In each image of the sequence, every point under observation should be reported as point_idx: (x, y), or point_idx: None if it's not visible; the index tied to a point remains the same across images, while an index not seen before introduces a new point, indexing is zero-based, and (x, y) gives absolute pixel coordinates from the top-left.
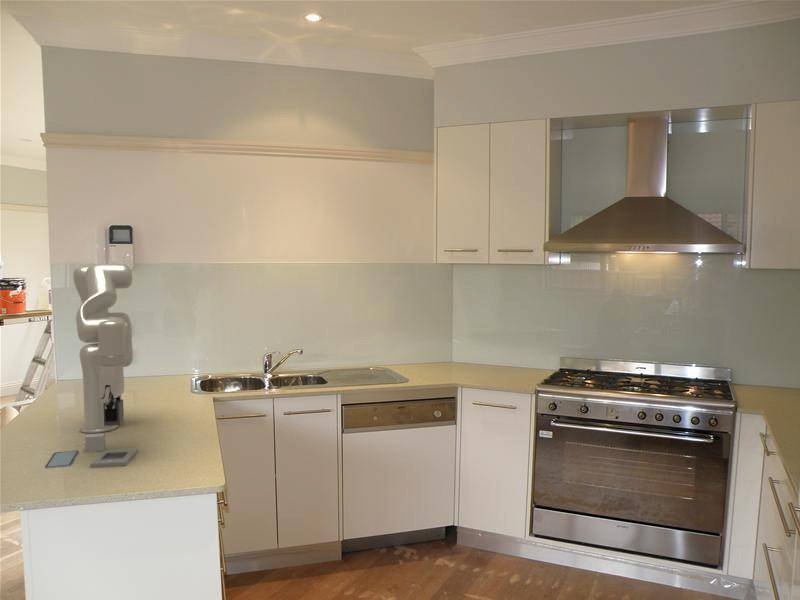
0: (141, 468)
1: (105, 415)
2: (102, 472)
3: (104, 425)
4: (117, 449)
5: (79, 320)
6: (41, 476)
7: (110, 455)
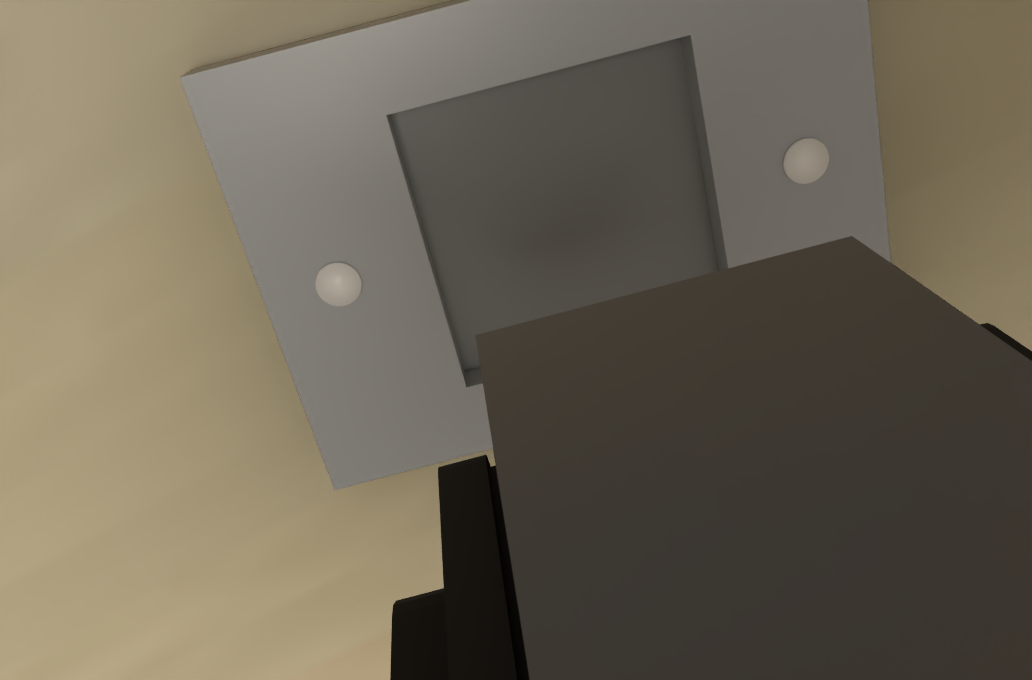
0: (290, 651)
1: (443, 572)
2: (64, 334)
3: (480, 345)
4: (853, 101)
5: None
6: None
7: (689, 77)
